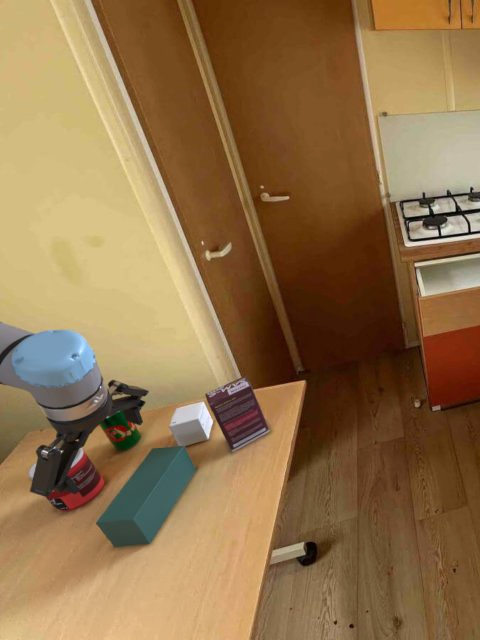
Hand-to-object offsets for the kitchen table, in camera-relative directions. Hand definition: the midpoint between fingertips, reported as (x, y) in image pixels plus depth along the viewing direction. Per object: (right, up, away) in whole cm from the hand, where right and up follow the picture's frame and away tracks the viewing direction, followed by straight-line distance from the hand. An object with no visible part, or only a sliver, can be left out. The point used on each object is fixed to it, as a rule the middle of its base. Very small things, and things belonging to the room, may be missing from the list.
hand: (104, 453), depth 81 cm
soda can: (-14, -7, +21) cm, 26 cm away
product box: (+1, -6, +23) cm, 24 cm away
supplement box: (+14, -6, +22) cm, 27 cm away
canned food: (-14, -13, +9) cm, 21 cm away
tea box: (+5, -11, +5) cm, 13 cm away
